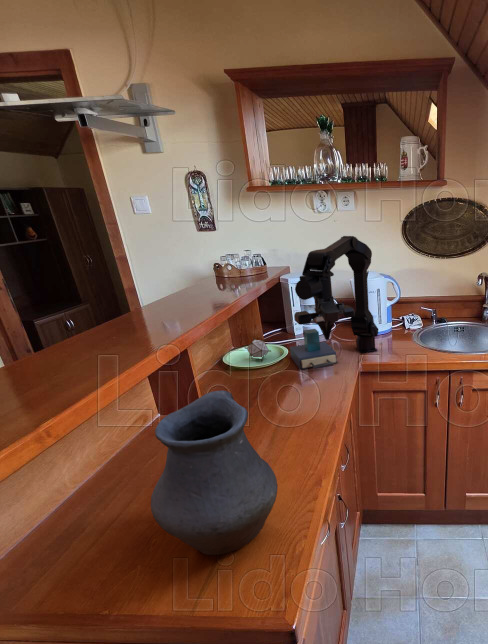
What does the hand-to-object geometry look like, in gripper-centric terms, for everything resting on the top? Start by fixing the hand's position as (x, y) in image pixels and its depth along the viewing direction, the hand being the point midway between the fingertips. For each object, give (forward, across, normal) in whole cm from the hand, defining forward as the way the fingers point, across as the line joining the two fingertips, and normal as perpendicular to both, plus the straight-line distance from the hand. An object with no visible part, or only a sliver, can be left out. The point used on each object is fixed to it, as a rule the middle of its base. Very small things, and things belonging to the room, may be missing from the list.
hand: (327, 339), depth 139 cm
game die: (+13, -19, +27) cm, 36 cm away
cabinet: (+13, -1, +16) cm, 21 cm away
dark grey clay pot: (+12, -41, -62) cm, 75 cm away
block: (+8, -1, +16) cm, 18 cm away
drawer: (+12, -1, +12) cm, 17 cm away
